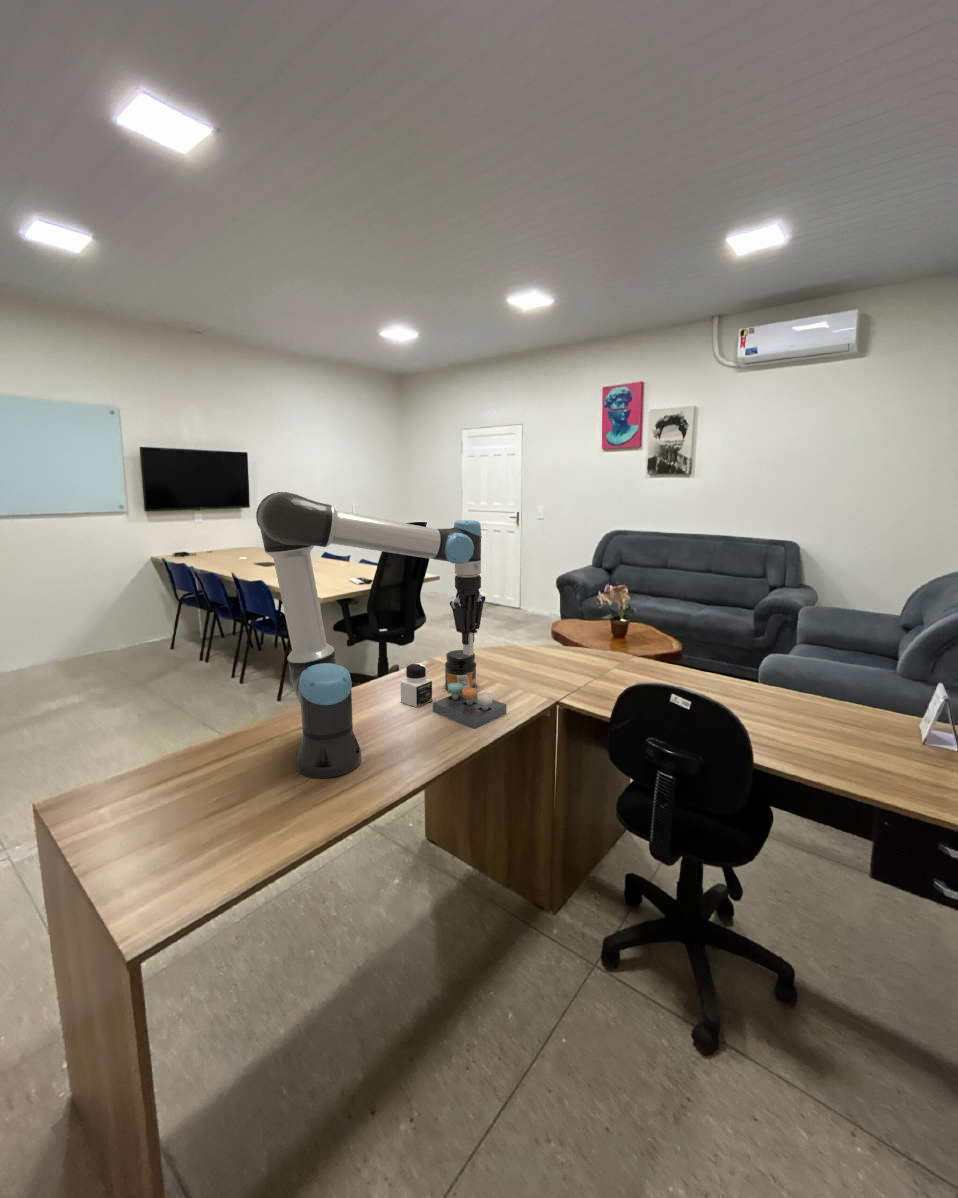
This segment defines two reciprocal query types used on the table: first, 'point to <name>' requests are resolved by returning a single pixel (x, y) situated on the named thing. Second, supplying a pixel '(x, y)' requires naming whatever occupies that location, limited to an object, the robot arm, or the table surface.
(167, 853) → the table surface
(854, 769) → the table surface
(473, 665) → the supplement container
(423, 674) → the medicine bottle
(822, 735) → the table surface
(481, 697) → the ivory button
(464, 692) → the orange button
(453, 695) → the teal button
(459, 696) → the console
